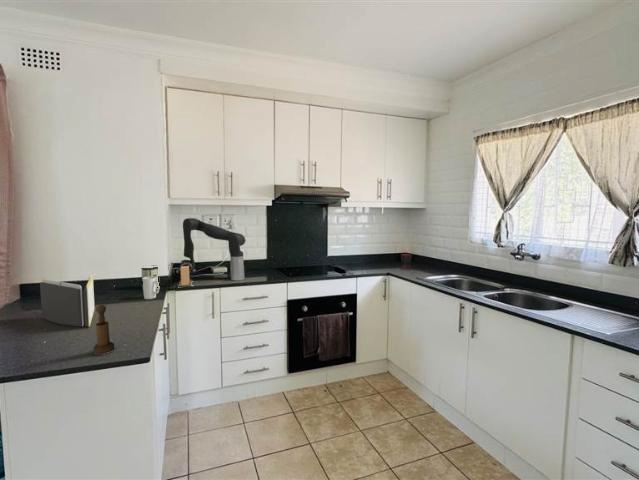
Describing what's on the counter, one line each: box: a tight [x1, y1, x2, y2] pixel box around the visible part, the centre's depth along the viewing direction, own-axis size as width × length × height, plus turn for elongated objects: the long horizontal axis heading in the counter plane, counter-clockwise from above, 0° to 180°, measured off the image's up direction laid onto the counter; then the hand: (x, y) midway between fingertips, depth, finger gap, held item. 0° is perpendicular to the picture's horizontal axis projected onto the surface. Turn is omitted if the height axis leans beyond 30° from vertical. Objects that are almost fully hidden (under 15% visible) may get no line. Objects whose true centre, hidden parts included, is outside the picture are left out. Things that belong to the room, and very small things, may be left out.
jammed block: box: [180, 266, 190, 285], centre depth 227 cm, size 5×4×12 cm
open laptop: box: [39, 273, 95, 328], centre depth 164 cm, size 35×22×20 cm, turn 67°
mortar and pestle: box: [92, 304, 115, 354], centre depth 127 cm, size 7×6×18 cm
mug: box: [142, 277, 161, 300], centre depth 198 cm, size 10×7×12 cm, turn 77°
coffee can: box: [140, 267, 158, 290], centre depth 220 cm, size 10×10×14 cm
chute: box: [178, 279, 195, 287], centre depth 229 cm, size 10×12×2 cm
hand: (185, 273), depth 229 cm, fingers closed
